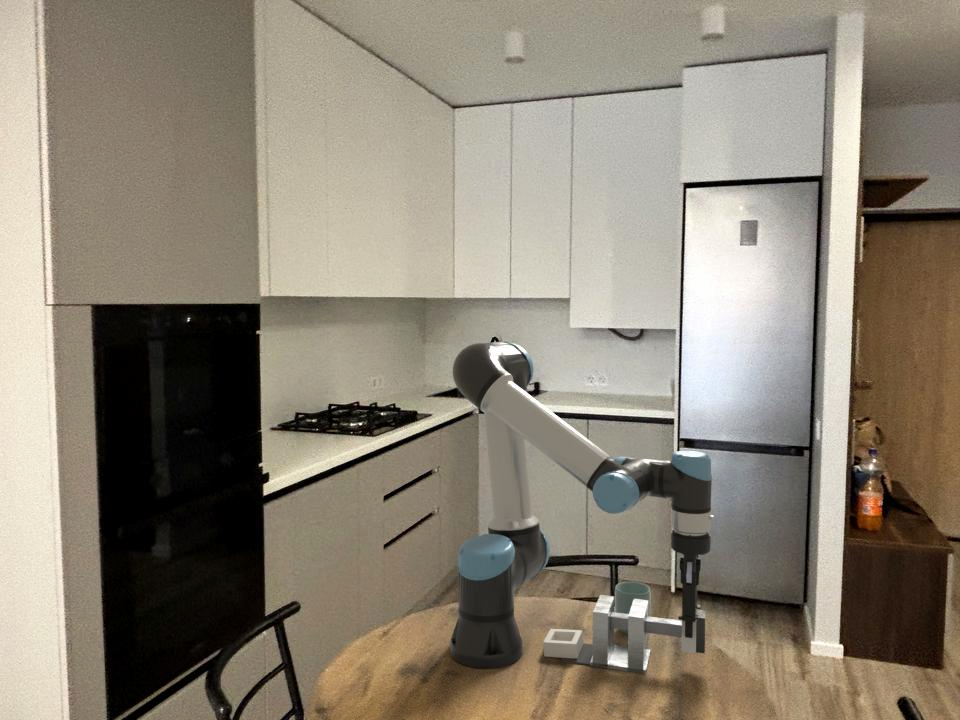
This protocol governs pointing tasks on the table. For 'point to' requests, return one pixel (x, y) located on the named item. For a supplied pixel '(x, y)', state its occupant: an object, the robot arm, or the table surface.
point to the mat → (582, 655)
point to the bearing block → (603, 638)
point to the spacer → (563, 643)
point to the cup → (630, 597)
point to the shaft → (664, 626)
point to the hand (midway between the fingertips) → (689, 646)
